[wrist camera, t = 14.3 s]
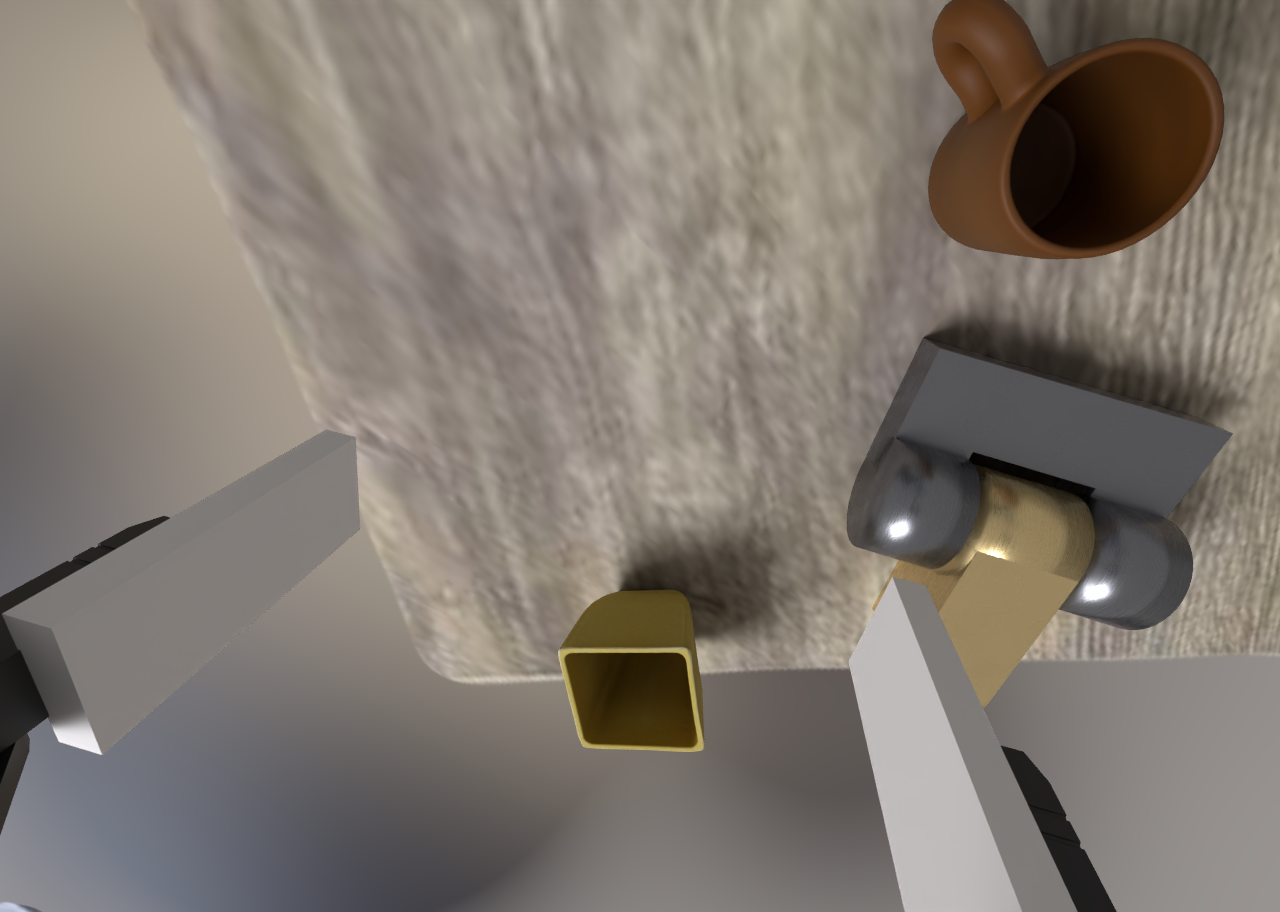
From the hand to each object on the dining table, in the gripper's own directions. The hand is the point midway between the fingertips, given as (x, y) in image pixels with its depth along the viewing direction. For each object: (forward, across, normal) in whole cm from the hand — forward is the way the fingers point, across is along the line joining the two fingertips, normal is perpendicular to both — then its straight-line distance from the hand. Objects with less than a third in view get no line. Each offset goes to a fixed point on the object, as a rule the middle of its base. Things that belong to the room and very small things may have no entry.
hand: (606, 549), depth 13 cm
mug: (+25, +12, +13) cm, 31 cm away
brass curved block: (+24, +21, -10) cm, 33 cm away
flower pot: (+24, +2, -23) cm, 33 cm away
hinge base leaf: (+24, +21, -4) cm, 32 cm away
